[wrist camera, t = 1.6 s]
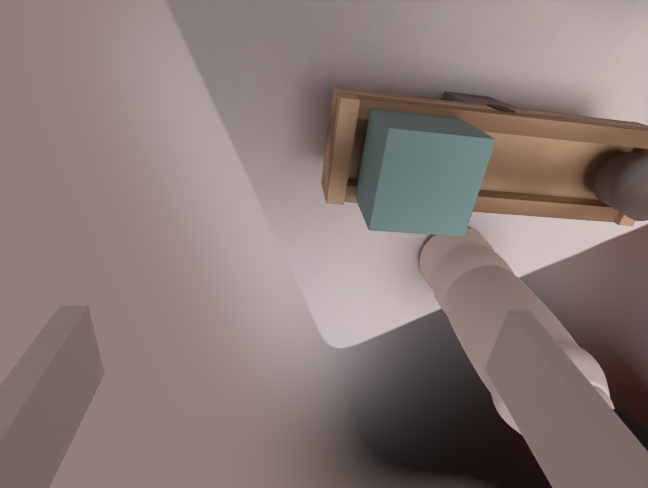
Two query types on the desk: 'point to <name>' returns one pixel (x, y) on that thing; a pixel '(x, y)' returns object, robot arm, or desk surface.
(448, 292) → the white bottle
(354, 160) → the beam
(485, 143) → the block
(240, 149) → the desk surface
